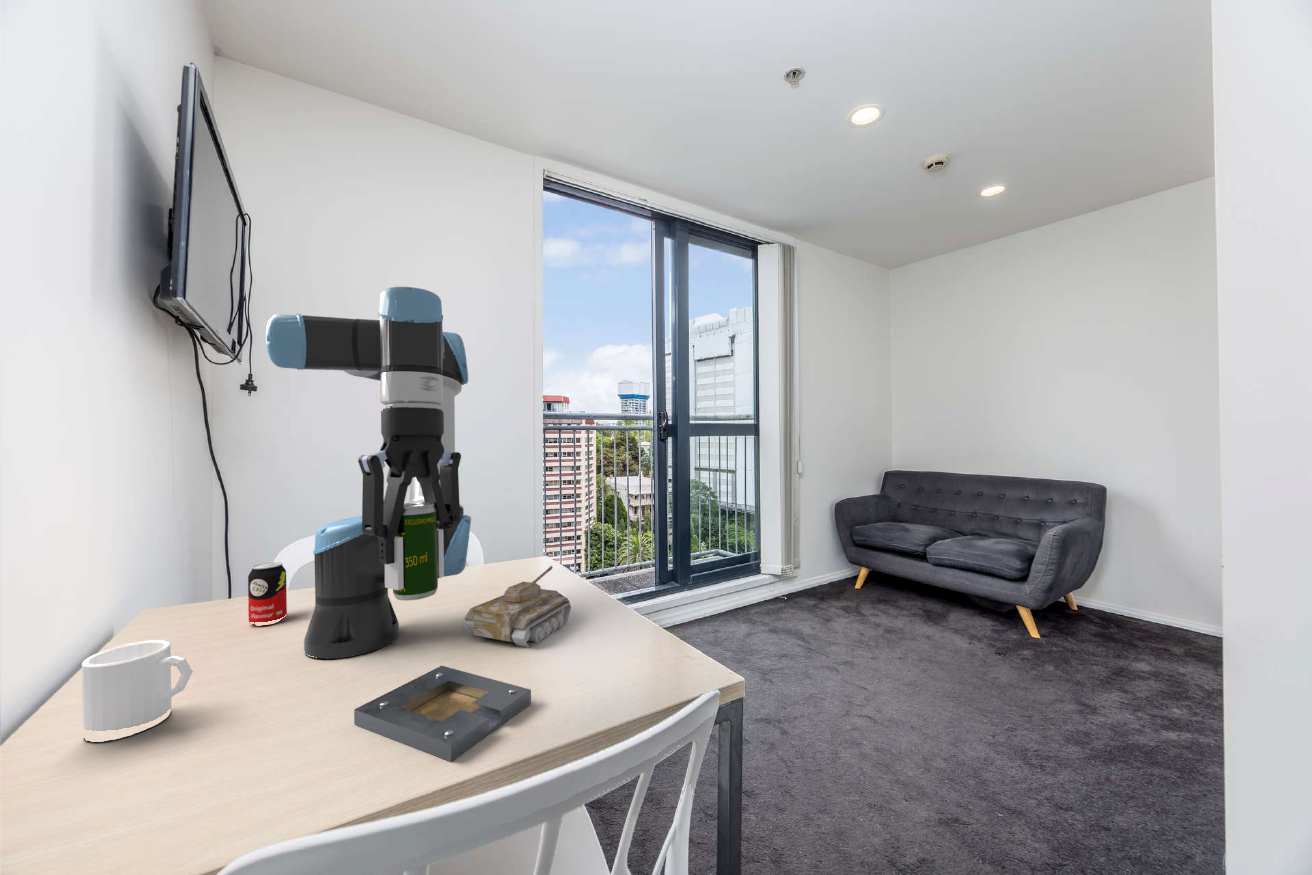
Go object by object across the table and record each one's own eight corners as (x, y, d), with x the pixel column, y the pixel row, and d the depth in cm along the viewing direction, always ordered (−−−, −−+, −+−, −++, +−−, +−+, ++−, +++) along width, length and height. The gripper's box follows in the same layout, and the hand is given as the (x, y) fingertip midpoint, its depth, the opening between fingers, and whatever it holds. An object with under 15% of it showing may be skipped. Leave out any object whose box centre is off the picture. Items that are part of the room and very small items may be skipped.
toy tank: (459, 641, 94) (458, 588, 94) (525, 607, 112) (525, 562, 112) (526, 653, 88) (525, 597, 88) (584, 615, 107) (583, 568, 107)
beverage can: (244, 623, 104) (243, 566, 104) (280, 614, 109) (279, 559, 109) (255, 630, 100) (254, 570, 100) (291, 620, 105) (291, 563, 105)
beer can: (427, 586, 70) (425, 500, 70) (445, 593, 66) (443, 503, 66) (386, 595, 66) (384, 505, 66) (403, 604, 62) (401, 508, 62)
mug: (164, 740, 63) (163, 662, 63) (63, 745, 62) (62, 666, 62) (216, 706, 71) (215, 637, 71) (127, 710, 71) (126, 640, 71)
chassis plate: (354, 724, 66) (354, 707, 66) (441, 678, 79) (441, 664, 79) (451, 761, 58) (450, 742, 58) (531, 703, 71) (530, 688, 71)
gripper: (360, 402, 56) (363, 606, 56) (486, 409, 73) (489, 568, 72) (324, 405, 60) (326, 597, 60) (451, 411, 76) (454, 563, 76)
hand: (415, 581), depth 66 cm, fingers closed on beer can, 5 cm apart
